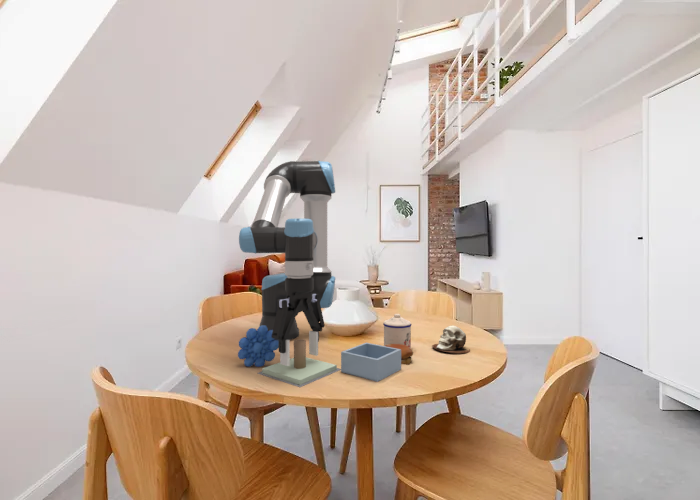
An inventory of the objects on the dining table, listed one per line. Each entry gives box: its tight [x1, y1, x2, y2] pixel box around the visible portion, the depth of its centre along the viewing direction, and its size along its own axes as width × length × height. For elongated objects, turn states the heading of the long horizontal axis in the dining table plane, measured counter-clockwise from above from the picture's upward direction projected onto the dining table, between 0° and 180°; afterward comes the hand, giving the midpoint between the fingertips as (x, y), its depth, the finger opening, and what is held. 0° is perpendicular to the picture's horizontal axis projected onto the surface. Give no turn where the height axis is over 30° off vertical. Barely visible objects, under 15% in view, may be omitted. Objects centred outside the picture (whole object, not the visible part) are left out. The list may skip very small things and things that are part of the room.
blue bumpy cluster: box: [237, 325, 279, 368], centre depth 109 cm, size 12×7×12 cm, turn 92°
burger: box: [385, 344, 414, 366], centre depth 114 cm, size 10×9×5 cm
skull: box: [431, 325, 471, 355], centre depth 126 cm, size 12×10×10 cm
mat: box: [256, 367, 341, 388], centre depth 104 cm, size 16×16×1 cm
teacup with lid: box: [382, 313, 412, 349], centre depth 127 cm, size 12×9×12 cm
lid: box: [261, 338, 338, 385], centre depth 104 cm, size 14×14×8 cm
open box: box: [340, 342, 402, 383], centre depth 104 cm, size 12×12×6 cm
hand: (299, 359), depth 104 cm, fingers open, 10 cm apart
